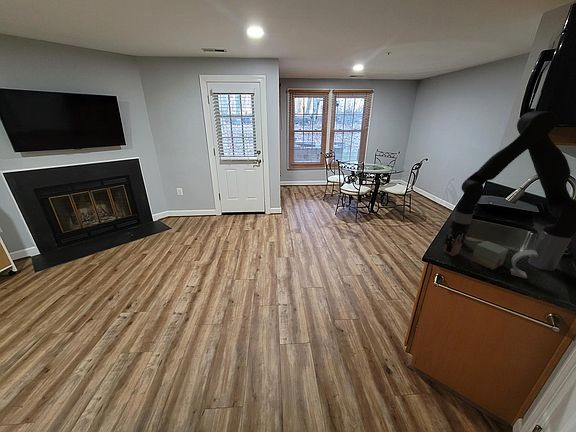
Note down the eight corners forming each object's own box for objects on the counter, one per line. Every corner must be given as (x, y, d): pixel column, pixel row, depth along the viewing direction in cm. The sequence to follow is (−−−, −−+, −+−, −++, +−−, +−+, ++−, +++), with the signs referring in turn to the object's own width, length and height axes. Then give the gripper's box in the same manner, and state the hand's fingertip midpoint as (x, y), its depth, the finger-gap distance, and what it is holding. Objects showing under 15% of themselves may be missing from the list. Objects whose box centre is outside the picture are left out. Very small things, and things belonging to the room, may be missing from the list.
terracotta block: (448, 249, 125) (452, 238, 122) (458, 253, 121) (462, 242, 118) (442, 251, 123) (446, 240, 120) (452, 256, 119) (456, 244, 116)
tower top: (483, 248, 118) (486, 240, 116) (505, 257, 111) (508, 249, 109) (473, 252, 114) (476, 244, 113) (495, 261, 107) (498, 253, 105)
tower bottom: (480, 256, 120) (483, 248, 118) (501, 265, 112) (505, 257, 111) (470, 260, 116) (473, 252, 114) (492, 270, 108) (495, 262, 107)
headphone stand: (526, 278, 103) (538, 255, 98) (508, 273, 106) (519, 250, 101) (524, 273, 106) (535, 250, 101) (507, 268, 109) (517, 246, 105)
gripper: (461, 225, 109) (450, 257, 115) (477, 220, 115) (466, 250, 121) (444, 219, 115) (435, 249, 121) (461, 215, 121) (452, 244, 127)
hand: (451, 250), depth 121 cm, fingers closed on terracotta block, 5 cm apart
